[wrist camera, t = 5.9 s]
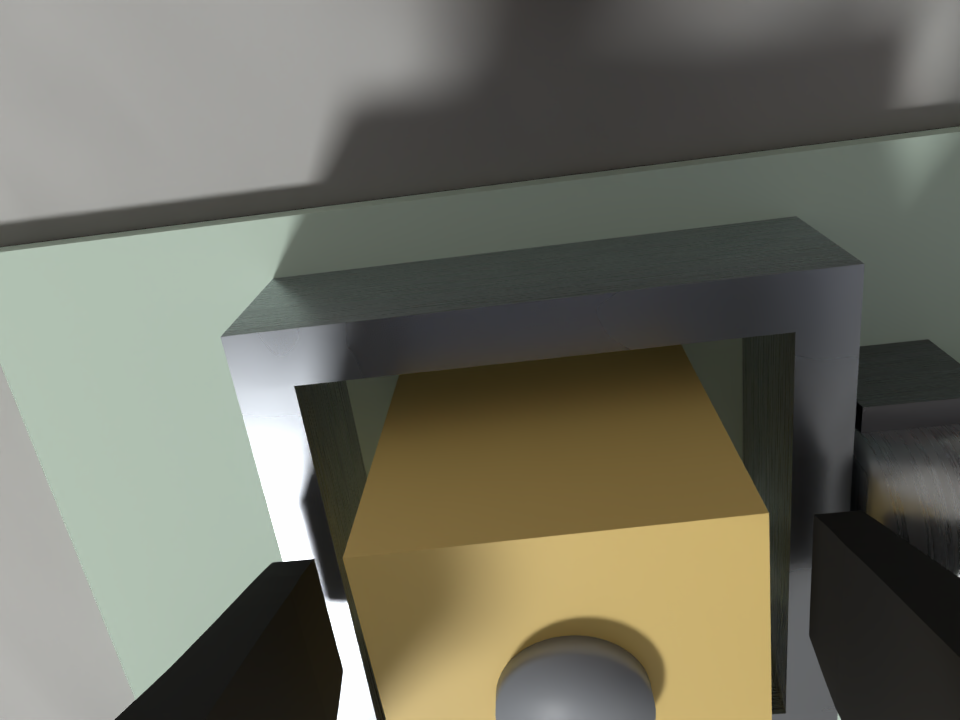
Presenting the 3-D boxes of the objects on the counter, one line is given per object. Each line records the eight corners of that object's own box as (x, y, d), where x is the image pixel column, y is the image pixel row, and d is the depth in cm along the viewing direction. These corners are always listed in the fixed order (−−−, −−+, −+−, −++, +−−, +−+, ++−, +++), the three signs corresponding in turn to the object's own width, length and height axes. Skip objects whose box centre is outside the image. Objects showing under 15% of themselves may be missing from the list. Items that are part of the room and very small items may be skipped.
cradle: (787, 210, 12) (864, 264, 10) (779, 621, 15) (835, 746, 13) (279, 271, 13) (220, 336, 10) (370, 652, 16) (344, 778, 13)
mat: (1440, 65, 11) (1471, 67, 11) (1192, 836, 17) (1206, 854, 17) (-27, 250, 13) (-43, 257, 13) (224, 888, 19) (218, 906, 19)
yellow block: (689, 561, 14) (780, 837, 10) (446, 586, 15) (416, 862, 10) (675, 334, 13) (777, 530, 8) (400, 369, 13) (337, 576, 8)
